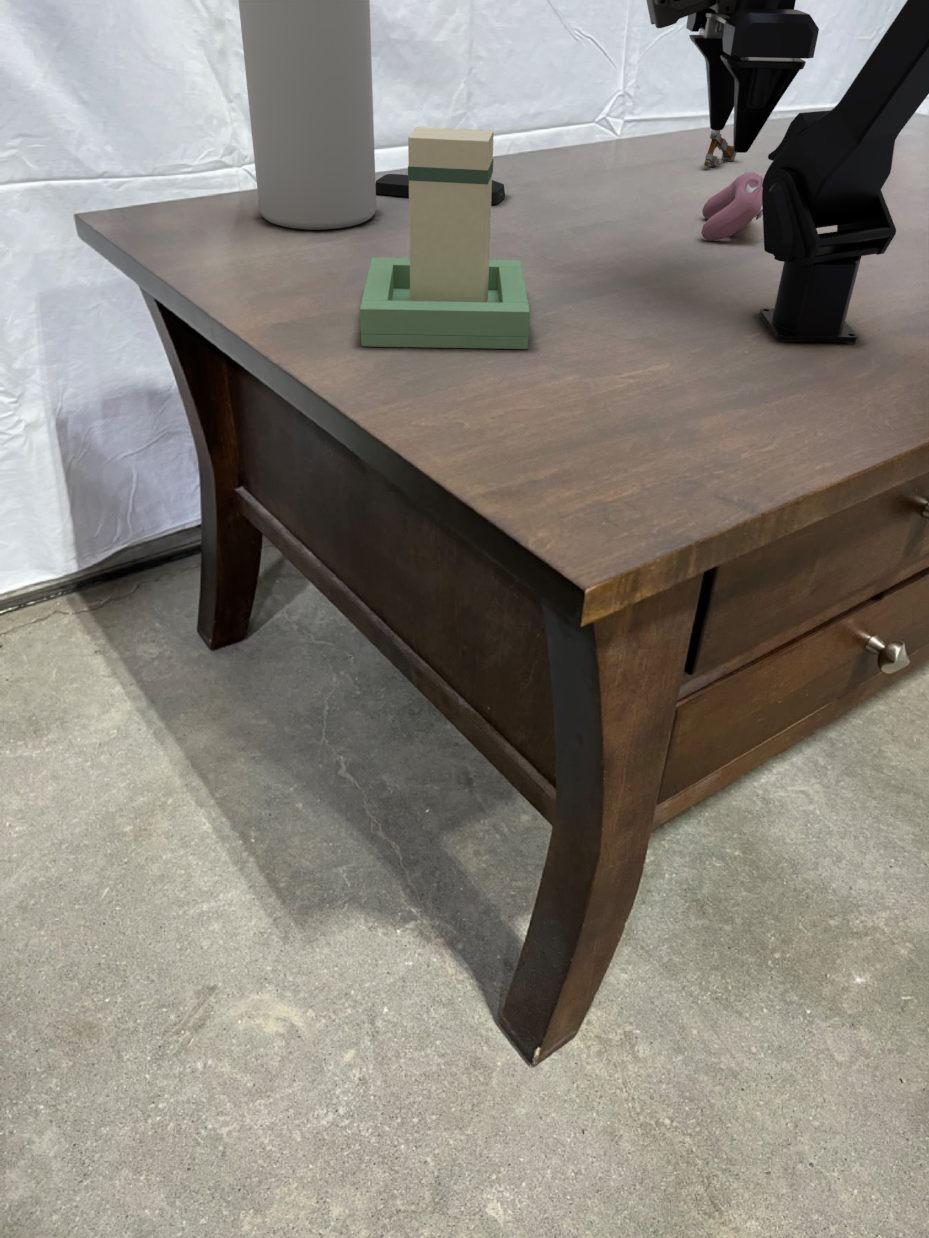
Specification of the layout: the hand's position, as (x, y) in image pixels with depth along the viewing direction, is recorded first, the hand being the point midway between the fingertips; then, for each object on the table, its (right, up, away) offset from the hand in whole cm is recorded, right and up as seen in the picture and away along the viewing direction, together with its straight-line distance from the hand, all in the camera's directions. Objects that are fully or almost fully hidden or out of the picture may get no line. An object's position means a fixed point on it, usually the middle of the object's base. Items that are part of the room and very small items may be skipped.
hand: (727, 140), depth 84 cm
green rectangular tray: (-24, -16, -2) cm, 29 cm away
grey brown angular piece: (+11, +19, +47) cm, 52 cm away
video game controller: (+6, 0, +21) cm, 22 cm away
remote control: (-25, +8, +31) cm, 41 cm away
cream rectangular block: (-24, -15, -2) cm, 28 cm away
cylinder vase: (-38, +3, +23) cm, 45 cm away
